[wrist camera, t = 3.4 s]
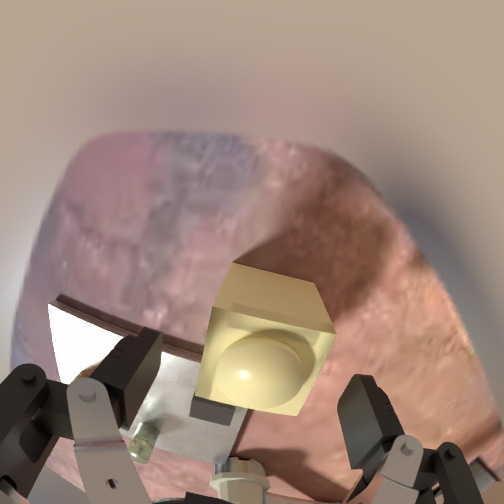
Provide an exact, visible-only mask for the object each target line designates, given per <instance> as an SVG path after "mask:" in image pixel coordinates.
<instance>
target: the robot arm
mask: <svg viewBox="0 0 504 504" xmlns="http://www.w3.org/2000/svg"><path fill="white" fill-rule="evenodd" d="M162 344H163V333H162V332H159V331H156V330H153V329H150V328H147V327H144V328H143V329H142V331H141V332H140V333H139V335H138V336H137V337H136V336H133V335H128V336H126V337H124V338H122V339H120V340H119V341H118V342H117V343H116V345H115V346H114V348H112V349H111V351H110V352H109V353H108V355H106V357H105V358H104V359H103V360H102V361H101V363H100V364H99V365H98V366H97V368H96V369H95V370H94V371H93V373H92V374H91V375H90V376H89V377H88V378H79V379H76V380H74V381H72V382H71V383H70V384H65V383H61V382H57V381H53V380H49V379H47V377H46V374H45V372H44V370H43V369H42V368H41V367H39V366H37V365H35V364H22V365H19V366H18V367H16V368H15V369H14V370H13V371H12V372H11V373H10V374H9V375H8V376H7V378H6V379H5V380H4V381H3V382H2V383H1V384H0V504H30V503H29V502H28V501H27V500H26V499H27V497H28V495H29V493H30V491H31V489H32V487H33V485H34V483H35V481H36V479H37V477H38V475H39V473H40V472H41V470H42V468H43V466H44V464H45V462H46V460H47V458H48V457H49V455H50V453H51V451H52V449H53V448H54V446H55V444H56V442H57V441H58V439H59V437H63V438H67V439H71V440H74V441H75V444H74V452H75V456H76V460H77V464H78V468H79V471H80V475H81V478H82V482H83V485H84V488H85V491H86V494H87V497H88V500H89V502H90V504H233V503H231V502H228V501H225V500H223V499H218V498H213V497H208V496H203V495H199V494H194V493H190V492H186V496H185V498H164V499H158V500H153V501H151V499H150V498H149V496H148V494H147V492H146V490H145V488H144V485H143V483H142V481H141V479H140V477H139V475H138V472H137V470H136V468H135V466H134V463H133V461H132V458H131V456H130V453H129V451H128V448H127V446H126V444H125V442H124V440H122V437H121V435H120V432H119V429H120V428H122V429H124V430H126V431H129V429H130V427H131V425H132V423H133V421H134V419H135V417H136V415H137V413H138V411H139V409H140V407H141V405H142V403H143V401H144V400H145V398H146V396H147V394H148V392H149V390H150V388H151V386H152V384H153V382H154V380H155V378H156V376H157V374H158V372H159V369H160V365H161V355H162ZM337 412H338V416H339V420H340V424H341V428H342V432H343V436H344V440H345V444H346V448H347V453H348V457H349V461H350V466H351V470H352V469H362V470H363V473H362V474H361V475H360V476H359V477H358V479H357V481H356V482H355V484H354V485H353V487H352V489H351V490H350V492H349V493H348V495H347V496H346V498H345V499H344V501H343V502H342V504H436V501H435V497H434V494H433V491H432V487H434V486H435V485H436V484H437V483H439V485H440V488H441V491H442V494H443V497H444V503H443V504H484V503H483V500H482V498H481V495H480V492H479V490H478V487H477V485H476V482H475V480H474V478H473V475H472V473H471V471H470V469H469V466H468V464H467V462H466V460H465V458H464V455H463V453H462V451H461V449H460V448H459V447H458V446H457V445H456V444H454V443H451V442H444V443H442V444H441V445H440V446H439V447H438V448H437V449H436V450H432V449H426V448H423V446H422V444H421V443H420V442H419V440H417V439H416V438H415V437H413V436H410V435H405V433H404V431H403V428H402V426H401V424H400V422H399V420H398V417H397V415H396V413H395V412H394V409H393V407H392V405H391V402H390V400H389V398H388V396H387V394H386V393H385V392H384V391H383V390H382V389H381V388H380V387H378V386H377V384H376V382H375V380H374V378H373V376H371V375H361V374H355V375H354V376H353V377H352V378H351V380H350V382H349V384H348V385H347V387H346V389H345V390H344V392H343V394H342V395H341V397H340V399H339V401H338V406H337Z"/></svg>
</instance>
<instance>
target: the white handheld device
mask: <svg viewBox="0 0 504 504" xmlns="http://www.w3.org/2000/svg"><path fill="white" fill-rule="evenodd" d="M210 486H211V487H212V488H214V489H215V490H217V491H218V497H219V499H223V500H225V501H228V502H231V503H233V504H341V503H339V502H334V503H328V502H319V501H312V500H305V499H299V498H293V497H288V496H283V495H278V494H273V493H269V492H266V491H267V490H268V489H269V488H270V482H269V480H268V479H267V478H266V477H265V469H264V468H263V467H262V465H261V464H260V463H259V462H257V461H255V460H253V459H250V460H248V461H244V460H238V457H228V459H227V461H226V463H224V464H221V465H218V464H215V465H214V475H212V476H211V478H210Z"/></svg>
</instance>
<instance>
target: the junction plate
mask: <svg viewBox="0 0 504 504" xmlns="http://www.w3.org/2000/svg"><path fill="white" fill-rule="evenodd" d="M48 306H49V316H50V324H51V331H52V337H53V343H54V349H55V354H56V359H57V364H58V369H59V373H60V377H61V382H62V383H65V384H70V383H71V382H72V381H74V380H76V379H79V378H88V377H89V376H90V375H91V374H92V373H93V371H94V370H95V369H96V368H97V366H98V365H99V364H100V363H101V361H102V360H103V359H104V358H105V357H106V355H108V353H109V352H110V351H111V349H112V348H114V346H115V345H116V343H117V342H118V341H119V340H120V339H122V338H124V337H126V336H128V335H133V336H136V337H137V336H138V335H139V334H136V333H133V332H131V331H128V330H125V329H123V328H120V327H118V326H115V325H112V324H110V323H107V322H105V321H102V320H100V319H98V318H95V317H93V316H91V315H88V314H86V313H84V312H81V311H79V310H77V309H75V308H73V307H70V306H68V305H66V304H64V303H62V302H60V301H58V300H56V299H55V300H54V301H52V302H51V303H49V304H48ZM202 356H203V355H202V354H198V353H195V352H192V351H188V350H185V349H181V348H178V347H175V346H172V345H169V344H165V343H163V344H162V355H161V365H160V369H159V372H158V374H157V376H156V378H155V380H154V382H153V384H152V386H151V388H150V390H149V392H148V394H147V396H146V398H145V400H144V401H143V403H142V405H141V407H140V409H139V411H138V413H137V415H136V417H135V419H134V421H133V423H132V425H131V427H130V429H129V431H126V430H124V429H122V428H120V429H119V432H120V434H122V435H125V436H127V437H130V438H132V440H131V442H130V444H129V446H128V451H129V453H130V456H131V458H132V460H134V461H136V462H139V463H143V464H146V463H148V461H149V458H150V456H151V453H152V451H153V448H154V447H156V448H159V449H162V450H165V451H169V452H172V453H175V454H178V455H182V456H185V457H189V458H193V459H197V460H201V461H205V462H209V463H214V464H218V465H221V464H224V463H226V461H227V459H228V457H229V454H230V452H231V449H232V447H233V445H234V442H235V440H236V437H237V435H238V432H239V430H240V427H241V425H242V422H243V420H244V417H245V415H246V412H247V410H248V408H244V407H239V406H234V405H230V404H226V403H221V402H217V401H213V400H209V399H205V398H202V397H198V396H195V392H196V387H197V381H198V376H199V371H200V366H201V361H202Z"/></svg>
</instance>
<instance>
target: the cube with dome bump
mask: <svg viewBox="0 0 504 504" xmlns="http://www.w3.org/2000/svg"><path fill="white" fill-rule="evenodd" d="M336 336H337V333H336V331H335V329H334V326H333V324H332V322H331V319H330V317H329V315H328V313H327V310H326V308H325V306H324V303H323V301H322V299H321V297H320V295H319V292H318V290H317V288H316V286H315V283H313V282H309V281H305V280H301V279H297V278H293V277H289V276H285V275H281V274H277V273H273V272H269V271H265V270H261V269H257V268H253V267H249V266H245V265H241V264H237V263H233V262H232V263H231V266H230V268H229V270H228V272H227V275H226V277H225V279H224V282H223V284H222V286H221V288H220V291H219V293H218V295H217V297H216V300H215V302H214V304H213V307H212V312H211V316H210V321H209V326H208V331H207V336H206V341H205V345H204V350H203V356H202V361H201V366H200V371H199V376H198V381H197V387H196V392H195V396H198V397H202V398H205V399H209V400H213V401H217V402H221V403H226V404H230V405H234V406H239V407H244V408H249V409H254V410H259V411H265V412H271V413H277V414H284V415H292V416H297V415H298V413H299V411H300V409H301V407H302V406H303V404H304V402H305V400H306V398H307V396H308V394H309V392H310V390H311V388H312V387H313V385H314V383H315V381H316V379H317V377H318V375H319V373H320V370H321V368H322V366H323V364H324V362H325V360H326V358H327V356H328V354H329V351H330V349H331V347H332V345H333V342H334V340H335V338H336Z"/></svg>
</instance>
